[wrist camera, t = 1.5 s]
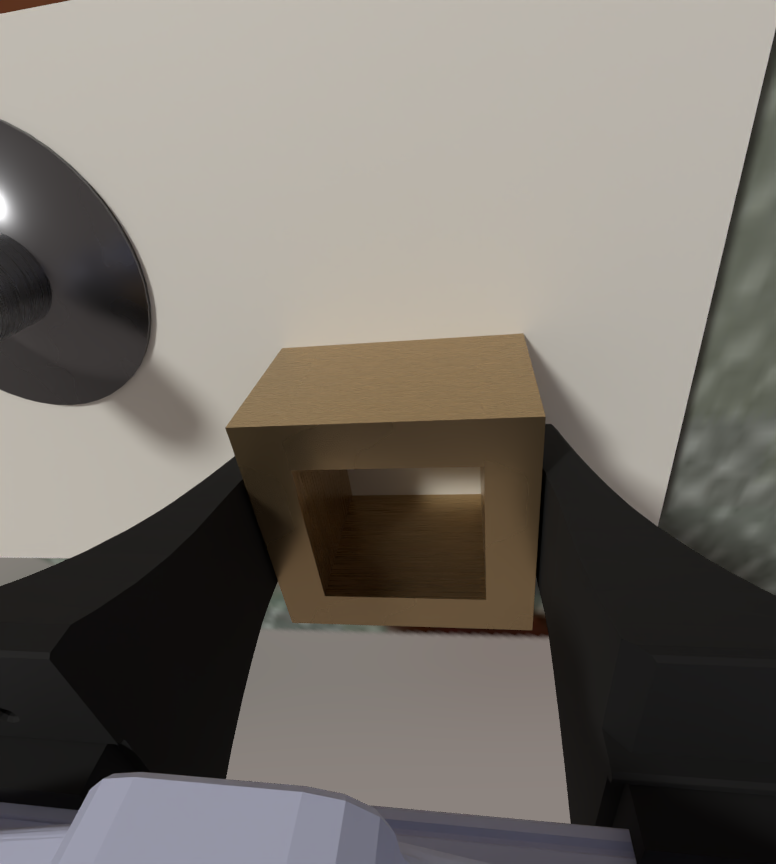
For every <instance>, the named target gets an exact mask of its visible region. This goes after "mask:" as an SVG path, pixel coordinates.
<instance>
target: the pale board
mask: <svg viewBox="0 0 776 864" xmlns="http://www.w3.org/2000/svg"><path fill="white" fill-rule="evenodd" d="M775 29H776V0H70V1H65V2H60V3H55V4H50V5H45V6H39V7H34V8H29V9H24V10H19V11H14V12H8V13H3V14H0V119H1V120H4V121H6V122H8V123H10V124H12V125H14V126H16V127H18V128H19V129H21V130H23V131H25V132H27V133H29V134H30V135H32V136H33V137H35V138H36V139H38V140H39V141H41V142H42V143H44V144H45V145H47V146H48V147H50V148H51V149H52V150H53V151H55V152H56V153H57V154H58V155H59V156H61V157H62V158H63V159H64V160H65V161H67V162H68V163H69V164H70V165H71V166H72V167H73V168H74V169H75V170H76V171H77V172H78V173H79V174H80V175H81V176H82V177H83V178H84V179H85V180H86V181H87V182H88V183H89V184H90V185H91V186H92V187H93V188H94V190H95V191H96V192H97V193H98V194H99V196H100V197H101V198H102V199H103V200H104V201H105V203H106V204H107V205H108V207H109V208H110V210H111V211H112V213H113V214H114V216H115V217H116V218H117V220H118V221H119V223H120V224H121V226H122V228H123V230H124V232H125V233H126V235H127V237H128V239H129V240H130V242H131V244H132V246H133V248H134V251H135V253H136V255H137V258H138V260H139V262H140V265H141V268H142V271H143V274H144V277H145V280H146V283H147V288H148V293H149V298H150V304H151V333H150V340H149V344H148V348H147V352H146V354H145V357H144V359H143V361H142V363H141V365H140V367H139V368H138V370H137V371H136V373H135V374H134V376H133V377H132V378H131V379H130V380H129V381H128V382H127V383H126V384H125V385H123V386H122V387H121V388H120V389H118V390H117V391H115V392H114V393H112V394H111V395H109V396H106V397H104V398H102V399H100V400H97V401H93V402H89V403H86V404H77V405H54V404H46V403H40V402H36V401H31V400H27V399H24V398H21V397H18V396H15V395H12V394H9V393H7V392H4V391H2V390H0V557H7V558H8V557H9V558H13V557H14V558H72V557H74V556H76V555H78V554H81V553H83V552H85V551H87V550H89V549H91V548H93V547H95V546H97V545H99V544H101V543H102V542H104V541H106V540H108V539H110V538H112V537H114V536H116V535H118V534H120V533H122V532H124V531H126V530H128V529H129V528H131V527H133V526H135V525H136V524H138V523H140V522H141V521H143V520H145V519H147V518H148V517H150V516H152V515H153V514H155V513H156V512H158V511H160V510H161V509H163V508H164V507H166V506H167V505H169V504H170V503H172V502H173V501H175V500H176V499H178V498H179V497H181V496H182V495H183V494H185V493H186V492H188V491H189V490H190V489H192V488H193V487H195V486H196V485H197V484H199V483H200V482H202V481H203V480H204V479H206V478H207V477H208V476H210V475H211V474H212V473H214V472H215V471H216V470H217V469H219V468H220V467H221V466H223V465H224V464H225V463H226V462H228V461H229V460H230V459H232V458H233V457H234V456H235V455H234V452H233V449H232V446H231V443H230V440H229V437H228V434H227V432H226V429H225V427H226V426H227V424H228V423H229V422H230V420H231V419H232V417H233V416H234V415H235V413H236V412H237V410H238V409H239V408H240V406H241V405H242V403H243V402H244V401H245V399H246V398H247V396H248V395H249V394H250V392H251V391H252V389H253V388H254V387H255V385H256V384H257V382H258V381H259V380H260V378H261V377H262V375H263V374H264V373H265V371H266V370H267V368H268V367H269V366H270V364H271V363H272V361H273V360H274V359H275V357H276V356H277V354H278V353H279V352H280V350H281V349H282V348H293V347H309V346H326V345H342V344H358V343H375V342H391V341H407V340H424V339H440V338H456V337H472V336H489V335H505V334H521V333H524V337H525V341H526V345H527V348H528V352H529V356H530V360H531V363H532V367H533V371H534V375H535V378H536V382H537V386H538V390H539V393H540V397H541V401H542V405H543V408H544V412H545V416H546V420H545V424H552V425H553V426H554V427H555V428H556V429H557V430H558V431H559V433H560V434H561V435H562V436H563V438H564V439H565V440H566V441H567V442H568V443H569V445H570V446H571V447H572V448H573V449H574V450H575V452H576V453H577V454H578V455H579V456H580V457H581V458H582V459H583V460H584V462H585V463H586V464H587V465H588V466H589V467H590V468H591V469H592V470H593V471H594V472H595V473H596V474H597V475H598V476H599V477H600V478H601V479H602V480H603V481H604V482H605V483H606V484H607V485H608V486H609V487H610V488H611V489H612V490H613V491H614V492H616V493H617V494H618V495H619V496H620V497H621V498H622V499H623V500H624V501H626V502H627V503H628V504H629V505H630V506H631V507H633V508H634V509H635V510H636V511H638V512H639V513H640V514H642V515H643V516H644V517H646V518H647V519H648V520H650V521H651V522H652V523H654V524H655V525H656V526H658V524H659V519H660V515H661V511H662V507H663V502H664V498H665V494H666V490H667V486H668V481H669V477H670V473H671V469H672V464H673V460H674V456H675V452H676V448H677V443H678V439H679V435H680V431H681V426H682V422H683V418H684V414H685V409H686V405H687V401H688V397H689V393H690V388H691V384H692V380H693V376H694V371H695V367H696V363H697V359H698V355H699V350H700V346H701V342H702V338H703V333H704V329H705V325H706V321H707V317H708V312H709V308H710V304H711V300H712V295H713V291H714V287H715V283H716V278H717V274H718V270H719V266H720V262H721V257H722V253H723V249H724V245H725V240H726V236H727V232H728V228H729V224H730V219H731V215H732V211H733V207H734V202H735V198H736V194H737V190H738V186H739V181H740V177H741V173H742V169H743V164H744V160H745V156H746V152H747V147H748V143H749V139H750V135H751V131H752V126H753V122H754V118H755V114H756V109H757V105H758V101H759V97H760V93H761V88H762V84H763V80H764V76H765V71H766V67H767V63H768V59H769V54H770V50H771V46H772V42H773V38H774V33H775ZM347 471H348V476H349V481H350V486H351V491H352V495H441V494H481V481H480V467H443V468H392V469H347Z"/></svg>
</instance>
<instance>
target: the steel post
mask: <svg viewBox="0 0 776 864" xmlns="http://www.w3.org/2000/svg"><path fill="white" fill-rule="evenodd" d="M150 333H151V304H150V298H149V293H148V288H147V283H146V280H145V277H144V274H143V271H142V268H141V265H140V262H139V260H138V258H137V255H136V253H135V251H134V248H133V246H132V244H131V242H130V240H129V239H128V237H127V235H126V233H125V232H124V230H123V228H122V226H121V224H120V223H119V221H118V220H117V218H116V217H115V216H114V214H113V213H112V211H111V210H110V208H109V207H108V205H107V204H106V203H105V201H104V200H103V199H102V198H101V197H100V196H99V194H98V193H97V192H96V191H95V190H94V188H93V187H92V186H91V185H90V184H89V183H88V182H87V181H86V180H85V179H84V178H83V177H82V176H81V175H80V174H79V173H78V172H77V171H76V170H75V169H74V168H73V167H72V166H71V165H70V164H69V163H68V162H67V161H65V160H64V159H63V158H62V157H61V156H59V155H58V154H57V153H56V152H55V151H53V150H52V149H51V148H50V147H48V146H47V145H45V144H44V143H42V142H41V141H39V140H38V139H36V138H35V137H33V136H32V135H30V134H29V133H27V132H25V131H23V130H21V129H19V128H18V127H16V126H14V125H12V124H10V123H8V122H6V121H4V120H1V119H0V390H2V391H4V392H7V393H9V394H12V395H15V396H18V397H21V398H24V399H27V400H31V401H36V402H40V403H46V404H54V405H77V404H86V403H89V402H93V401H97V400H100V399H102V398H104V397H106V396H109V395H111V394H112V393H114V392H115V391H117V390H118V389H120V388H121V387H122V386H123V385H125V384H126V383H127V382H128V381H129V380H130V379H131V378H132V377H133V376H134V374H135V373H136V371H137V370H138V368H139V367H140V365H141V363H142V361H143V359H144V357H145V354H146V352H147V348H148V344H149V340H150Z"/></svg>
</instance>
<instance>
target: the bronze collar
mask: <svg viewBox="0 0 776 864" xmlns="http://www.w3.org/2000/svg"><path fill="white" fill-rule="evenodd" d="M545 420H546V416H545V412H544V408H543V405H542V401H541V397H540V393H539V390H538V386H537V382H536V378H535V375H534V371H533V367H532V363H531V360H530V356H529V352H528V348H527V345H526V341H525V337H524V333H521V334H505V335H489V336H472V337H456V338H440V339H424V340H407V341H391V342H375V343H358V344H342V345H326V346H309V347H293V348H282V349H281V350H280V352H279V353H278V354H277V356H276V357H275V359H274V360H273V361H272V363H271V364H270V366H269V367H268V368H267V370H266V371H265V373H264V374H263V375H262V377H261V378H260V380H259V381H258V382H257V384H256V385H255V387H254V388H253V389H252V391H251V392H250V394H249V395H248V396H247V398H246V399H245V401H244V402H243V403H242V405H241V406H240V408H239V409H238V410H237V412H236V413H235V415H234V416H233V417H232V419H231V420H230V422H229V423H228V424H227V426H226V427H225V429H226V432H227V434H228V437H229V440H230V443H231V446H232V449H233V452H234V455H235V458H236V461H237V463H238V466H239V469H240V472H241V475H242V478H243V481H244V484H245V487H246V490H247V492H248V495H249V498H250V501H251V504H252V507H253V510H254V513H255V516H256V518H257V521H258V524H259V527H260V530H261V533H262V536H263V539H264V542H265V545H266V547H267V550H268V553H269V556H270V559H271V562H272V565H273V568H274V571H275V574H276V576H277V579H278V582H279V585H280V588H281V591H282V594H283V597H284V600H285V602H286V605H287V608H288V611H289V614H290V617H291V620H292V623H320V624H351V625H382V626H414V627H445V628H476V629H507V630H532V627H533V611H534V595H535V579H536V563H537V547H538V531H539V515H540V499H541V483H542V468H543V452H544V436H545ZM443 467H480V481H481V494H441V495H352V491H351V486H350V481H349V476H348V471H347V469H392V468H443Z"/></svg>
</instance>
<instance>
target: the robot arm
mask: <svg viewBox="0 0 776 864" xmlns="http://www.w3.org/2000/svg"><path fill="white" fill-rule="evenodd" d="M536 578H537V582H538V586H539V590H540V595H541V599H542V603H543V607H544V612H545V617H546V622H547V627H548V633H549V640H550V648H551V655H552V663H553V670H554V678H555V686H556V695H557V703H558V711H559V719H560V728H561V736H562V745H563V755H564V763H565V772H566V782H567V791H568V800H569V810H570V819H571V824H565V823H555V822H544V821H533V820H522V819H511V818H500V817H489V816H479V815H468V814H457V813H446V812H435V811H424V810H413V809H402V808H392V807H380V806H370V805H367V804H365V803H362V802H360V801H358V800H356V799H354V798H352V797H350V796H348V795H345V794H342V793H337V792H332V791H327V790H322V789H317V788H312V787H307V786H297V785H285V784H275V783H274V784H273V783H263V782H252V781H239V780H228V779H226V775H227V770H228V765H229V759H230V754H231V748H232V744H233V739H234V735H235V730H236V725H237V720H238V716H239V712H240V707H241V703H242V698H243V694H244V690H245V686H246V682H247V678H248V674H249V670H250V666H251V662H252V658H253V654H254V651H255V647H256V643H257V640H258V636H259V633H260V629H261V625H262V622H263V619H264V616H265V613H266V610H267V607H268V605H269V602H270V599H271V597H272V594H273V592H274V589H275V587H276V584H277V582H278V579H277V576H276V574H275V571H274V568H273V565H272V562H271V559H270V556H269V553H268V550H267V547H266V545H265V542H264V539H263V536H262V533H261V530H260V527H259V524H258V521H257V518H256V516H255V513H254V510H253V507H252V504H251V501H250V498H249V495H248V492H247V490H246V487H245V484H244V481H243V478H242V475H241V472H240V469H239V466H238V463H237V461H236V458H235V456H234V457H233V458H232V459H230V460H229V461H228V462H226V463H225V464H224V465H223V466H221V467H220V468H219V469H217V470H216V471H215V472H214V473H212V474H211V475H210V476H208V477H207V478H206V479H204V480H203V481H202V482H200V483H199V484H197V485H196V486H195V487H193V488H192V489H190V490H189V491H188V492H186V493H185V494H183V495H182V496H181V497H179V498H178V499H176V500H175V501H173V502H172V503H170V504H169V505H167V506H166V507H164V508H163V509H161V510H160V511H158V512H156V513H155V514H153V515H152V516H150V517H148V518H147V519H145V520H143V521H141V522H140V523H138V524H136V525H135V526H133V527H131V528H129V529H128V530H126V531H124V532H122V533H120V534H118V535H116V536H114V537H112V538H110V539H108V540H106V541H104V542H102V543H101V544H99V545H97V546H95V547H93V548H91V549H89V550H87V551H85V552H83V553H81V554H78V555H76V556H74V557H72V558H69V559H67V560H65V561H63V562H61V563H58V564H56V565H54V566H51V567H49V568H47V569H44V570H42V571H40V572H37V573H35V574H32V575H30V576H27V577H24V578H22V579H19V580H16V581H14V582H11V583H8V584H5V585H3V586H0V864H776V596H775V595H773V594H771V593H769V592H767V591H765V590H763V589H761V588H759V587H757V586H755V585H753V584H751V583H750V582H748V581H746V580H744V579H742V578H740V577H738V576H736V575H735V574H733V573H731V572H729V571H727V570H725V569H724V568H722V567H720V566H718V565H717V564H715V563H713V562H711V561H710V560H708V559H706V558H705V557H703V556H701V555H700V554H698V553H697V552H695V551H694V550H692V549H690V548H689V547H687V546H686V545H684V544H682V543H681V542H679V541H678V540H676V539H675V538H673V537H672V536H670V535H669V534H667V533H666V532H665V531H663V530H662V529H660V528H659V527H658V526H656V525H655V524H654V523H652V522H651V521H650V520H648V519H647V518H646V517H644V516H643V515H642V514H640V513H639V512H638V511H636V510H635V509H634V508H633V507H631V506H630V505H629V504H628V503H627V502H626V501H624V500H623V499H622V498H621V497H620V496H619V495H618V494H617V493H616V492H614V491H613V490H612V489H611V488H610V487H609V486H608V485H607V484H606V483H605V482H604V481H603V480H602V479H601V478H600V477H599V476H598V475H597V474H596V473H595V472H594V471H593V470H592V469H591V468H590V467H589V466H588V465H587V464H586V463H585V462H584V460H583V459H582V458H581V457H580V456H579V455H578V454H577V453H576V452H575V450H574V449H573V448H572V447H571V446H570V445H569V443H568V442H567V441H566V440H565V439H564V438H563V436H562V435H561V434H560V433H559V431H558V430H557V429H556V428H555V427H554V426H553V425H552V424H545V436H544V452H543V468H542V483H541V499H540V515H539V531H538V547H537V563H536Z"/></svg>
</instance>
